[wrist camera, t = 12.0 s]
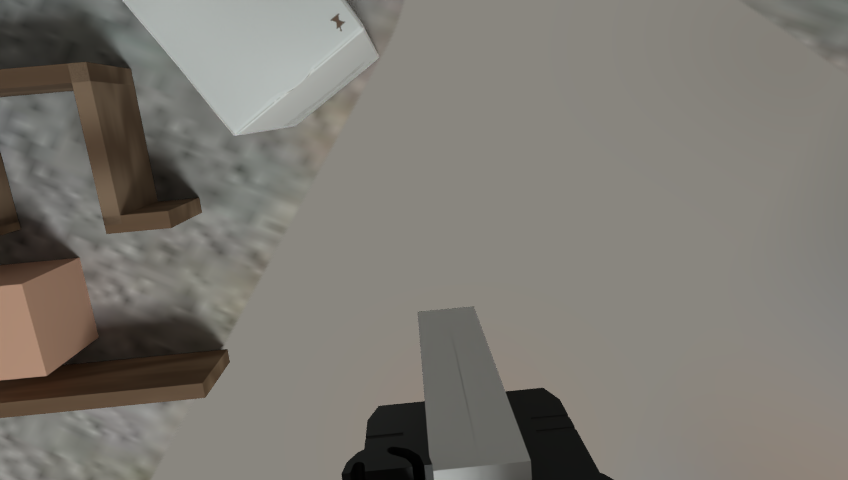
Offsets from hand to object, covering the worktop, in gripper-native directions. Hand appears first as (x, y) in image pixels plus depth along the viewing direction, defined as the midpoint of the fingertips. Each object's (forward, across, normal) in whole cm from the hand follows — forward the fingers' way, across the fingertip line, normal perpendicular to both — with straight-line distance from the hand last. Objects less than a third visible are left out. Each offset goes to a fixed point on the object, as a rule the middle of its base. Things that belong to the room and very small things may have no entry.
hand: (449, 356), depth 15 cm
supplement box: (+31, -8, +12) cm, 34 cm away
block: (+31, -32, -6) cm, 44 cm away
